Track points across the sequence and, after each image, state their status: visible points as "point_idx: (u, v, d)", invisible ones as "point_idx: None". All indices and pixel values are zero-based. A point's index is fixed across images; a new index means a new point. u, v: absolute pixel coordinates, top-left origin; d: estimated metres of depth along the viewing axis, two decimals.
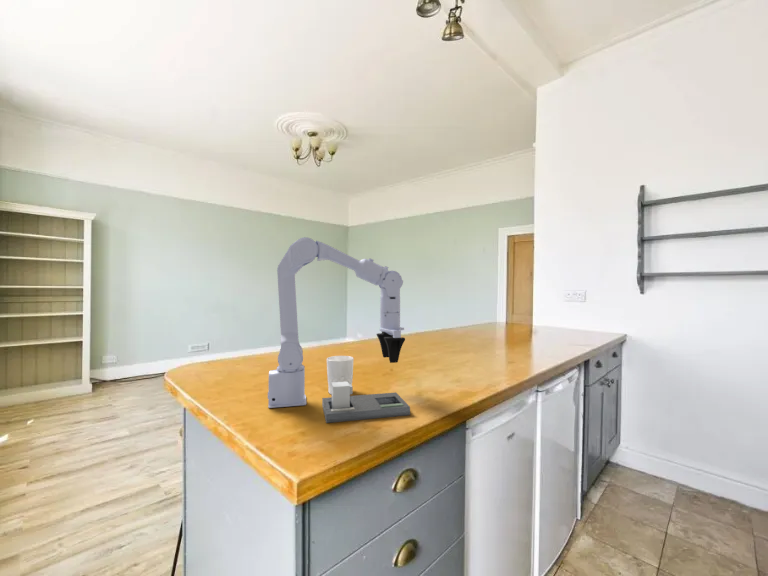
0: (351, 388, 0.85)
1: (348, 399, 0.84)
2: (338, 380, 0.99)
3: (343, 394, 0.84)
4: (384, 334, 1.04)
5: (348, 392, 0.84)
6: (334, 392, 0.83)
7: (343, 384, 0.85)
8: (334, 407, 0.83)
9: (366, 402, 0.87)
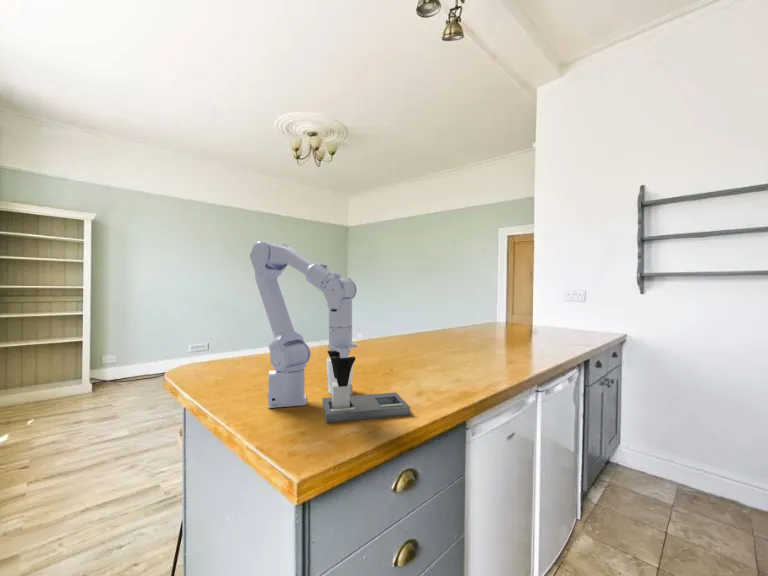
0: (351, 388, 0.85)
1: (348, 399, 0.84)
2: None
3: (343, 394, 0.84)
4: (336, 351, 0.89)
5: (348, 392, 0.84)
6: (334, 392, 0.83)
7: None
8: (334, 407, 0.83)
9: (366, 402, 0.87)
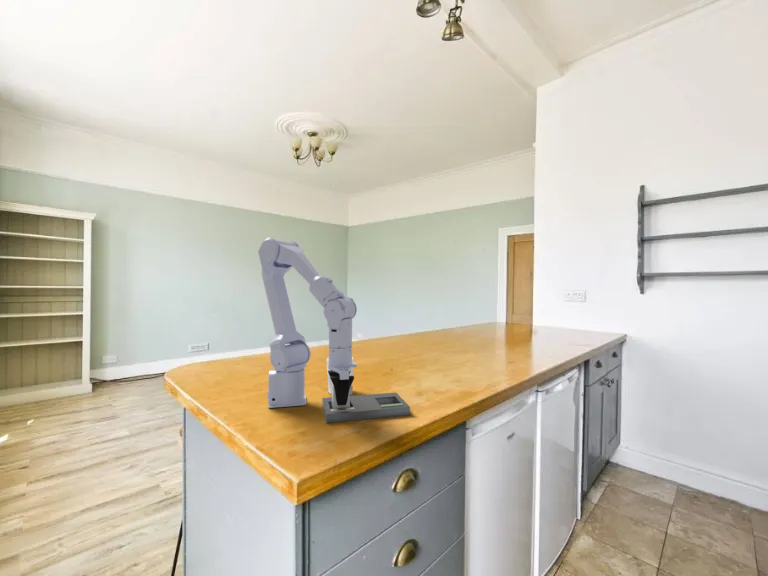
0: (351, 388, 0.85)
1: (348, 399, 0.84)
2: None
3: None
4: (336, 372, 0.88)
5: None
6: (334, 392, 0.83)
7: None
8: (334, 407, 0.83)
9: (366, 402, 0.87)
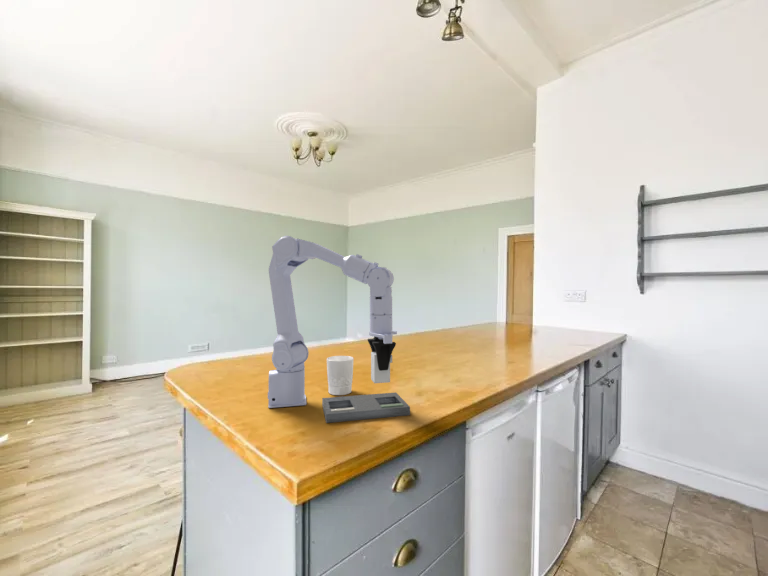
0: (391, 357, 0.88)
1: (388, 367, 0.87)
2: (338, 380, 0.99)
3: None
4: (376, 340, 0.90)
5: None
6: (375, 360, 0.86)
7: None
8: (375, 374, 0.86)
9: (366, 402, 0.87)
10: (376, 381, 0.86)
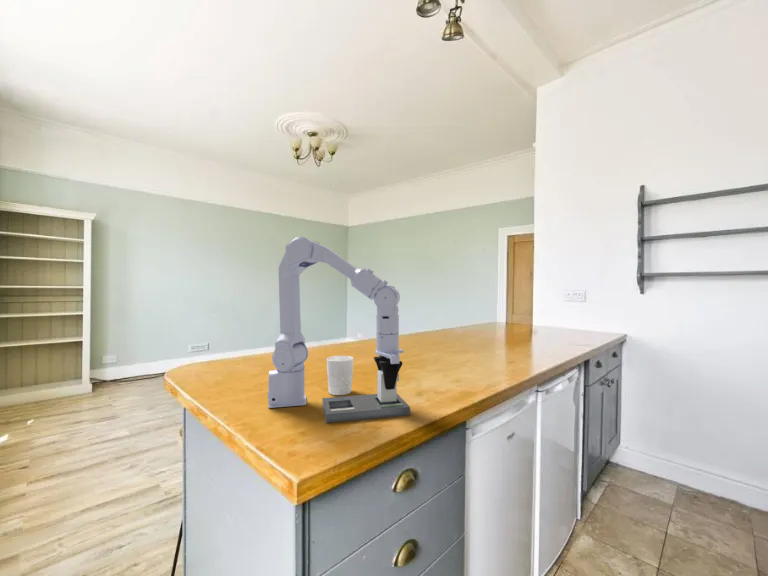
0: (397, 375, 0.88)
1: (395, 386, 0.87)
2: (338, 380, 0.99)
3: None
4: (382, 358, 0.91)
5: None
6: (382, 379, 0.86)
7: None
8: (382, 393, 0.86)
9: (366, 402, 0.87)
10: (383, 400, 0.86)
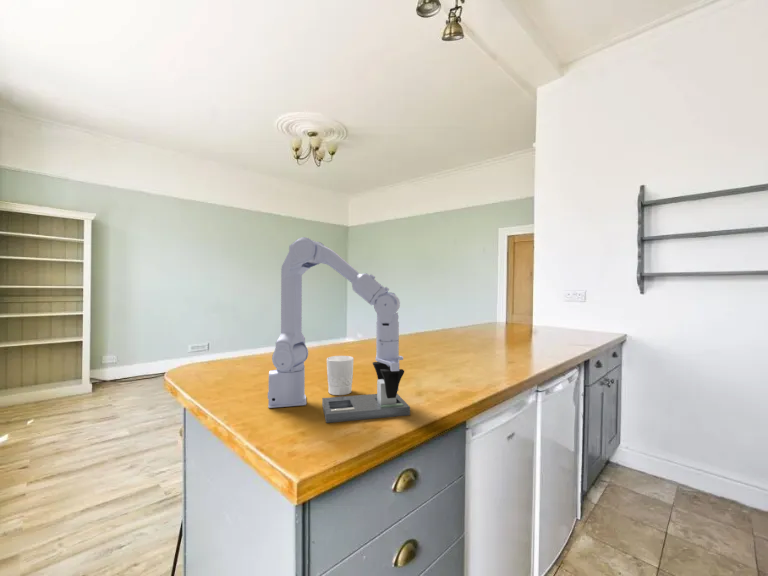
0: None
1: None
2: (338, 380, 0.99)
3: None
4: (381, 363, 0.92)
5: None
6: (381, 388, 0.86)
7: None
8: (381, 403, 0.86)
9: (366, 402, 0.87)
10: None
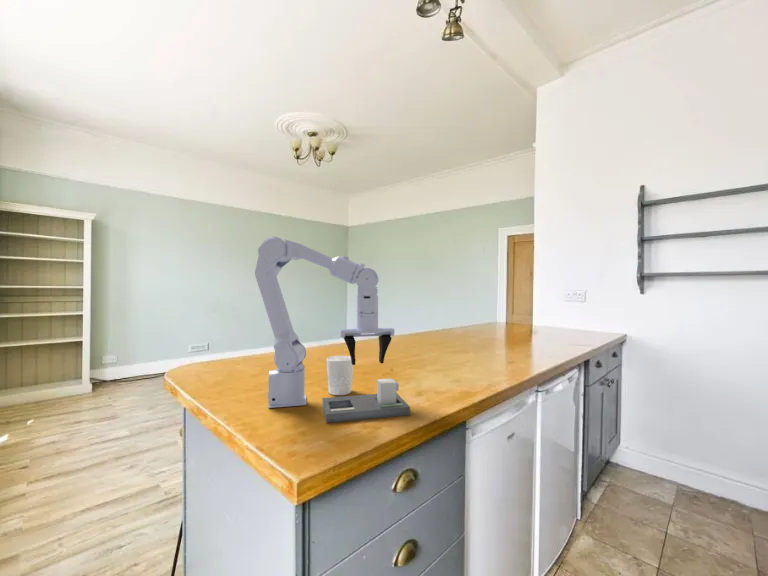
0: (397, 385, 0.88)
1: (395, 395, 0.87)
2: (338, 380, 0.99)
3: (390, 390, 0.87)
4: (380, 337, 0.95)
5: (395, 389, 0.87)
6: (382, 388, 0.86)
7: (389, 381, 0.88)
8: (381, 403, 0.86)
9: (366, 402, 0.87)
10: None
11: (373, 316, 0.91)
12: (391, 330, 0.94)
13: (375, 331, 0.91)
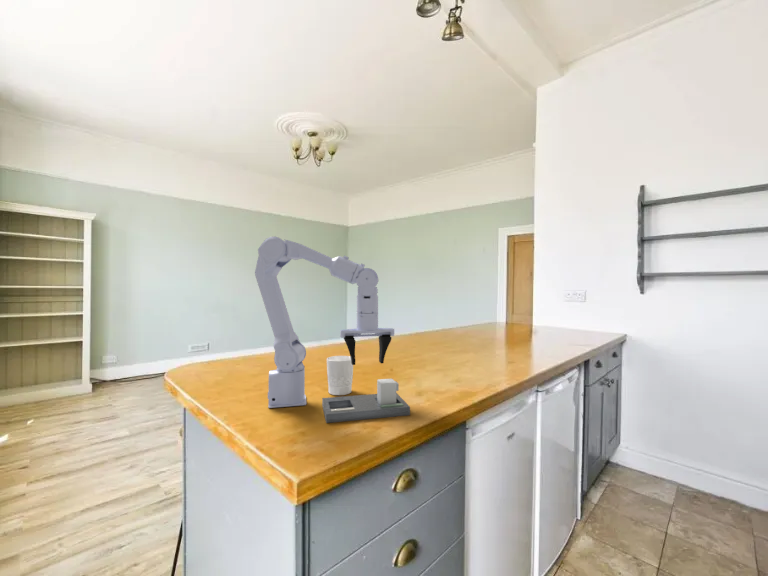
0: (397, 385, 0.88)
1: (395, 395, 0.87)
2: (338, 380, 0.99)
3: (390, 390, 0.87)
4: (380, 337, 0.95)
5: (395, 389, 0.87)
6: (382, 388, 0.86)
7: (389, 381, 0.88)
8: (381, 403, 0.86)
9: (366, 402, 0.87)
10: None
11: (373, 316, 0.91)
12: (391, 330, 0.94)
13: (375, 331, 0.91)
